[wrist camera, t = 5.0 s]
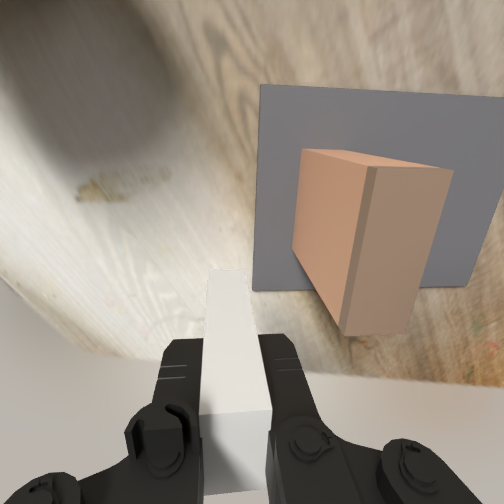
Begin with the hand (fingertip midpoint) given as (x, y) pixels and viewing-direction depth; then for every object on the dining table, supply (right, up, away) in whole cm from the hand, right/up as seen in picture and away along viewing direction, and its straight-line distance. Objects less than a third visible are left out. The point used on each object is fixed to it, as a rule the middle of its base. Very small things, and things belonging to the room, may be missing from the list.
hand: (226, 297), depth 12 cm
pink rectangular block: (+7, +7, +17) cm, 19 cm away
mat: (+14, +7, +18) cm, 24 cm away
